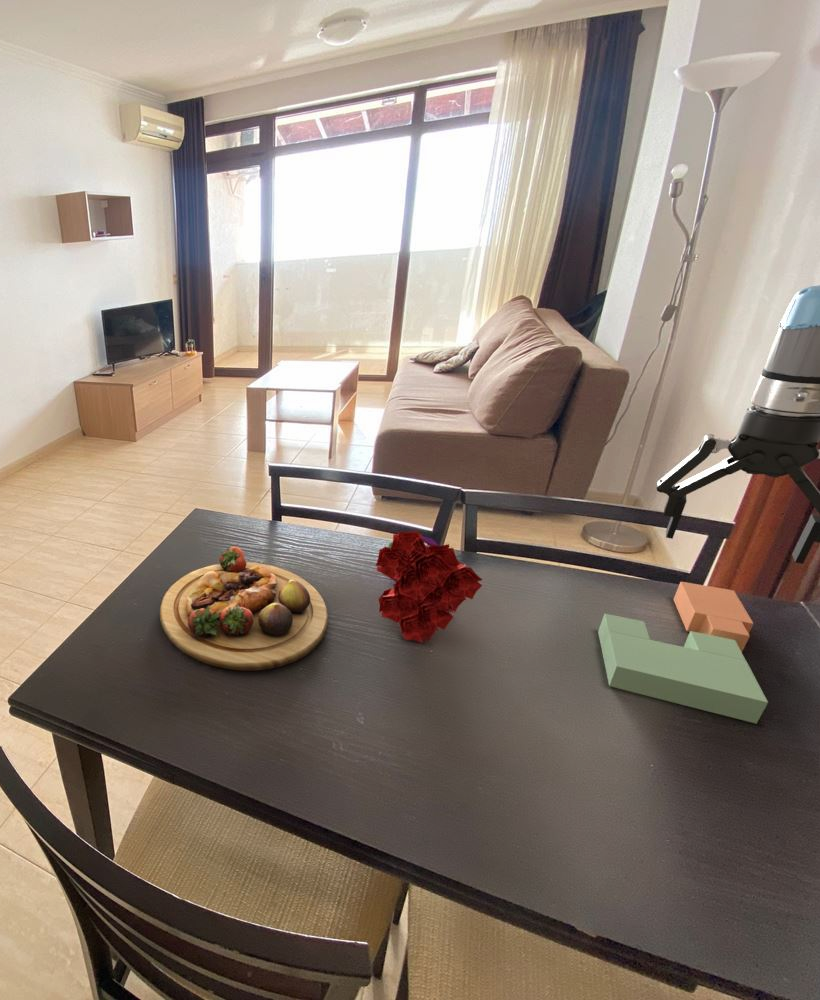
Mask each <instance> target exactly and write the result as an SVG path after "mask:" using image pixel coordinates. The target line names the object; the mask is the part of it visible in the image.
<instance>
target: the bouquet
mask: <svg viewBox="0 0 820 1000" xmlns="http://www.w3.org/2000/svg"><path fill="white" fill-rule="evenodd" d="M466 565H467V564H466V563H461V562H460V561H459V560H458V558H457V556H456V552H455V549H454V547H450V544H449V543H448V544H442V545H439V543H437V542H436V541H435V540H434V538H431V537H427V536H423V535H422V534H421V533H419V532H418V530H413V531H397V533H393V535H392V542H389V544H388V546H384V547H382V548H380V549H379V550H378V556H377V561H376V563H375V566H376V571H377V572H379V573H380V574H382V575H384V576H386V577H388V578H389V579H390V580H392V581H394V582H395V583H394V584H393V588H388V589H385V590H383V592H382V593H381V595H380V596H379V598H378V604H379V609H378V610H379V613H381V618H384V619H388V620H391V621H393V622H395V623H398V625H399V629H400V634H401V636H403V639H404V640H410V641H415V642H419V643H424V640H426V641H427V642H429V641H430V639H431V637H432V636H433V635H434V634H435V633H436V632H438V631H439V628H440V629H442V630H445V629H446V628H447V626H448V625H449V623H450V622H451V621H452V620H453V619H454V615H453V614H452V613H456V611H457V609H458V608H459V607H460V606H461V605H462V603H463V602H465V601H467V599H470V600H473V599H474V597H475V595H476V593H477V592H478V591H479V590H480V589H481V588H482V586H483V584H481V583H480V582H481V581H483V579H482V578H481V577H480V576H479V575H478V574H477V573H476V572H475V571H474V569H473V567H471V566H470V567H469V566H468V567H466Z"/></svg>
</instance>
